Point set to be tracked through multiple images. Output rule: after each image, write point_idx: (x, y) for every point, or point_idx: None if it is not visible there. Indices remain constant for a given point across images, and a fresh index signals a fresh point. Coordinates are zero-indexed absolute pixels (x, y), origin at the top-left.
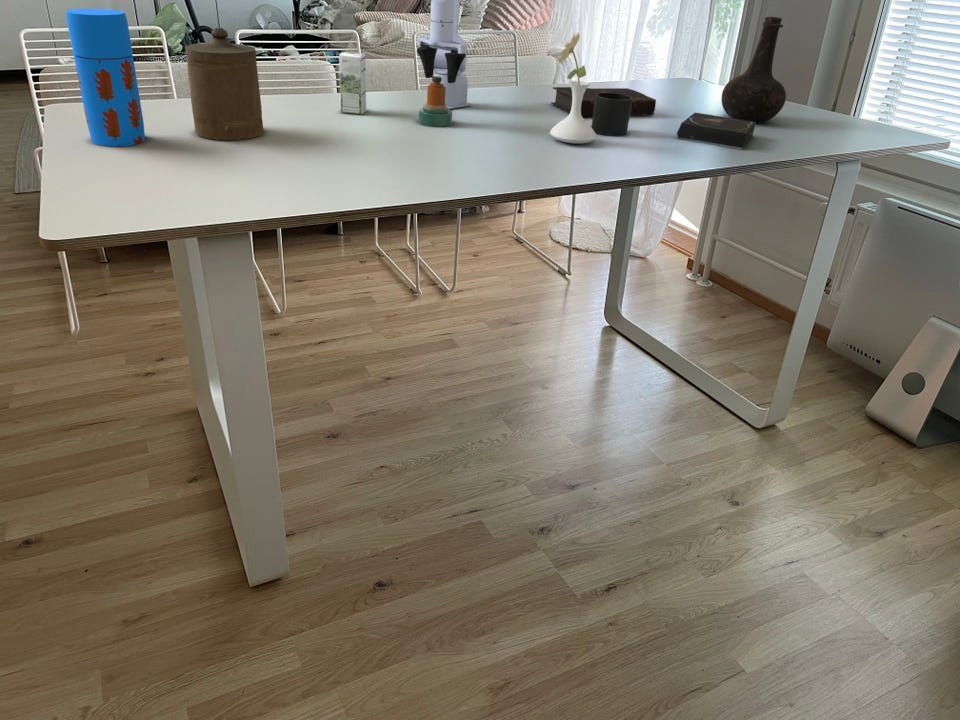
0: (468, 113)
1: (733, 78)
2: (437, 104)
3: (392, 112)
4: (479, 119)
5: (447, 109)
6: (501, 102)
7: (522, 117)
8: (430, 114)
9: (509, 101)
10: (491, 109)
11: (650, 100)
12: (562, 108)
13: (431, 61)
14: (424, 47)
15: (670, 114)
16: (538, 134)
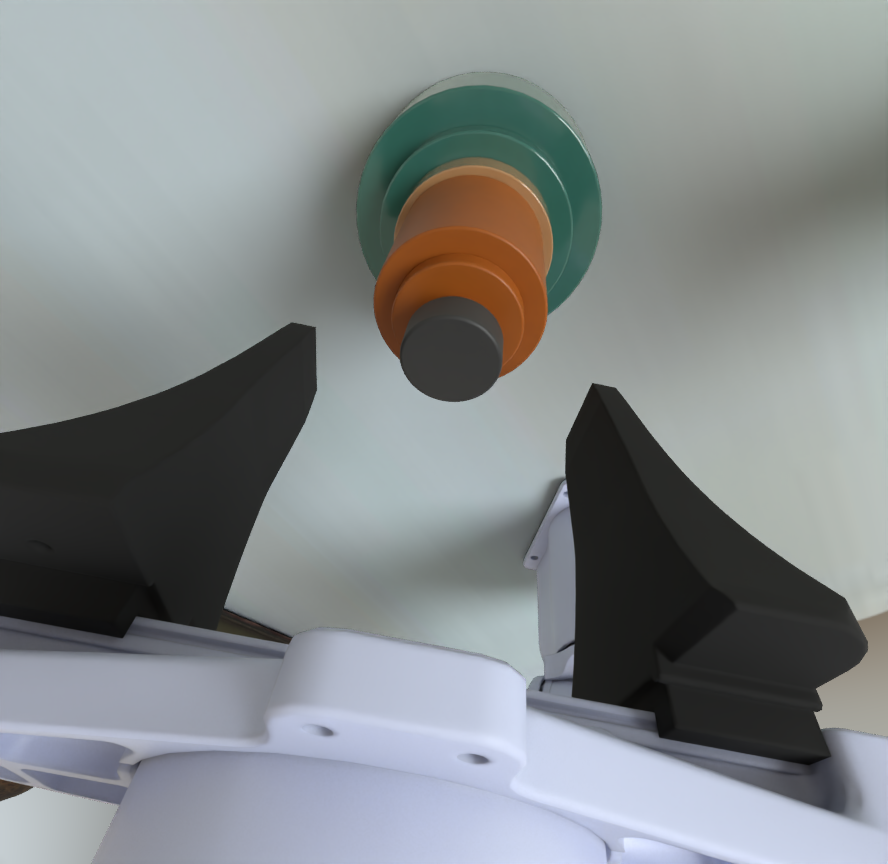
0: (462, 477)
1: (10, 787)
2: (421, 196)
3: (852, 263)
4: (362, 421)
5: (383, 250)
6: (464, 631)
7: (282, 527)
8: (445, 91)
9: (452, 646)
10: (433, 560)
11: None
12: (276, 635)
13: (591, 550)
14: (725, 692)
15: None
16: (20, 351)
